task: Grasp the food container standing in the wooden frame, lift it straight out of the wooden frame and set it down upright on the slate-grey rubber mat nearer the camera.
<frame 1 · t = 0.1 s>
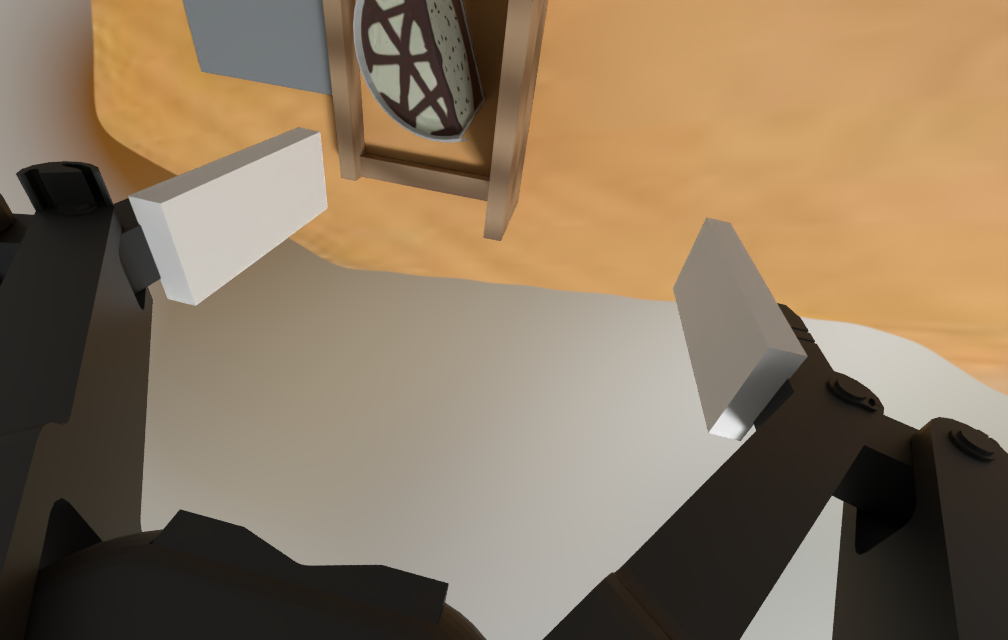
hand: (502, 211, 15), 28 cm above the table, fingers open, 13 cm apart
wooden frame: (437, 49, 37), on the table
food container: (438, 49, 37), resting in wooden frame
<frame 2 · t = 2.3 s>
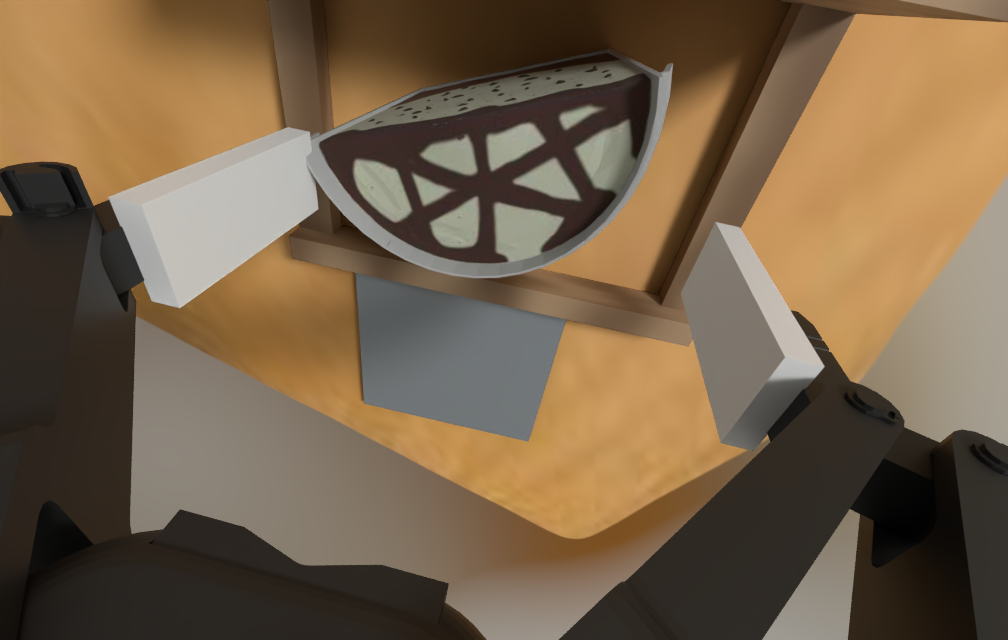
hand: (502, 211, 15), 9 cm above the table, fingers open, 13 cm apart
wooden frame: (518, 138, 22), on the table
mat: (454, 356, 32), on the table
food container: (522, 135, 22), resting in wooden frame, touching gripper
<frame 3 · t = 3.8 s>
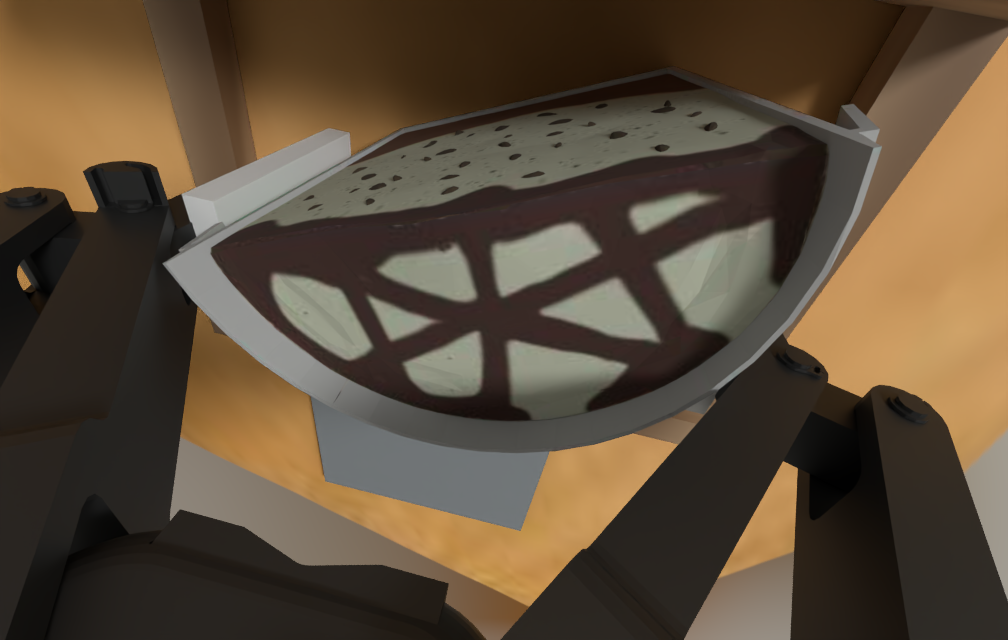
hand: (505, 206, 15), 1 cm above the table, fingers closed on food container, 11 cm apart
wooden frame: (501, 188, 16), on the table
mat: (429, 436, 26), on the table
food container: (542, 187, 16), resting in wooden frame, touching gripper
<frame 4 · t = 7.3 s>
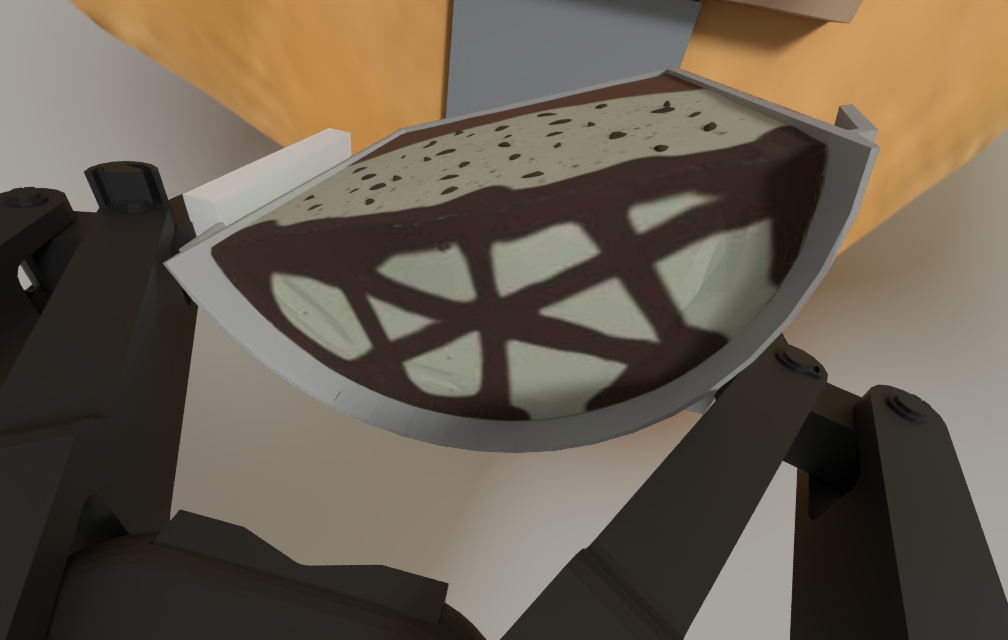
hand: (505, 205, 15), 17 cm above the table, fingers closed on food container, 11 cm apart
mat: (551, 110, 29), on the table
food container: (542, 187, 16), point 15 cm above the table, touching gripper
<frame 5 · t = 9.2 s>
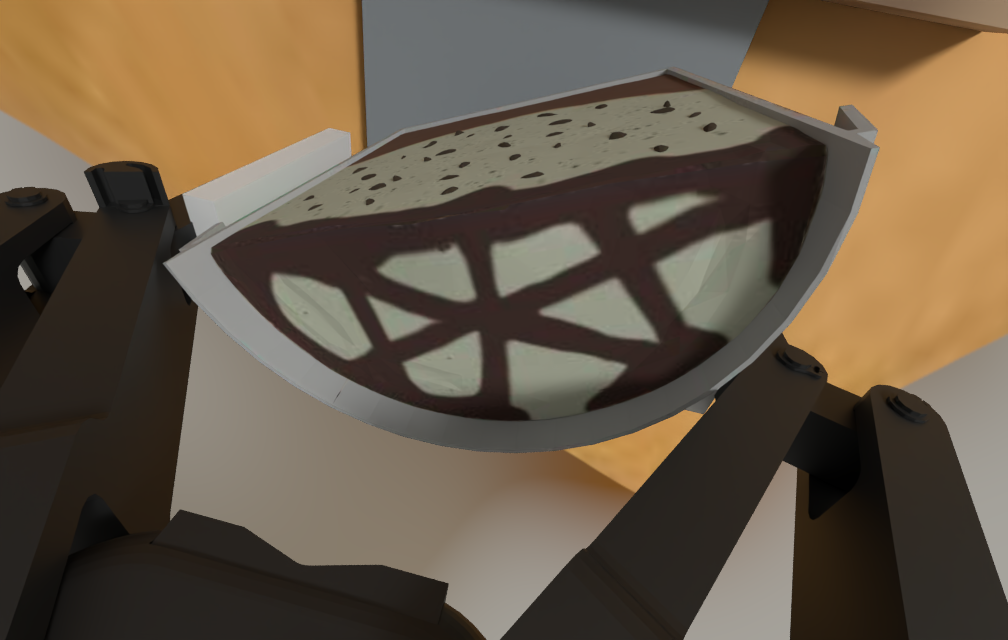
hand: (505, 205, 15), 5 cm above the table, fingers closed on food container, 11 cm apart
mat: (523, 163, 19), on the table
food container: (542, 187, 16), point 3 cm above the table, touching gripper
when the fingers open (3 cm above the table, at t = 10.8 s): food container stays where it is, resting on mat.
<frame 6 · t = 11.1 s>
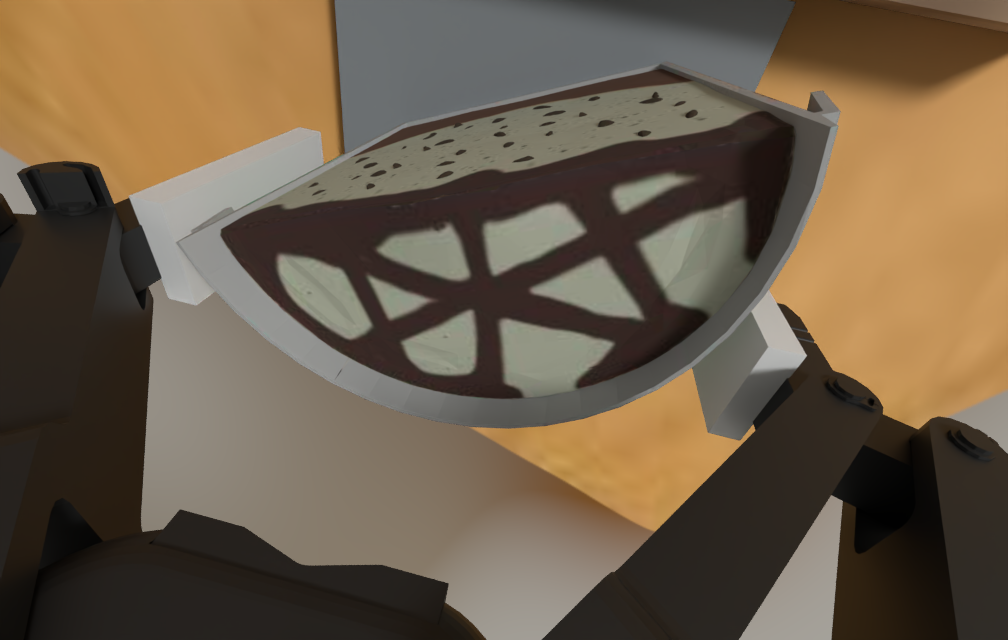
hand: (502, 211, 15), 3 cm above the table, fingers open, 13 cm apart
mat: (517, 181, 17), on the table
food container: (540, 180, 17), resting on mat
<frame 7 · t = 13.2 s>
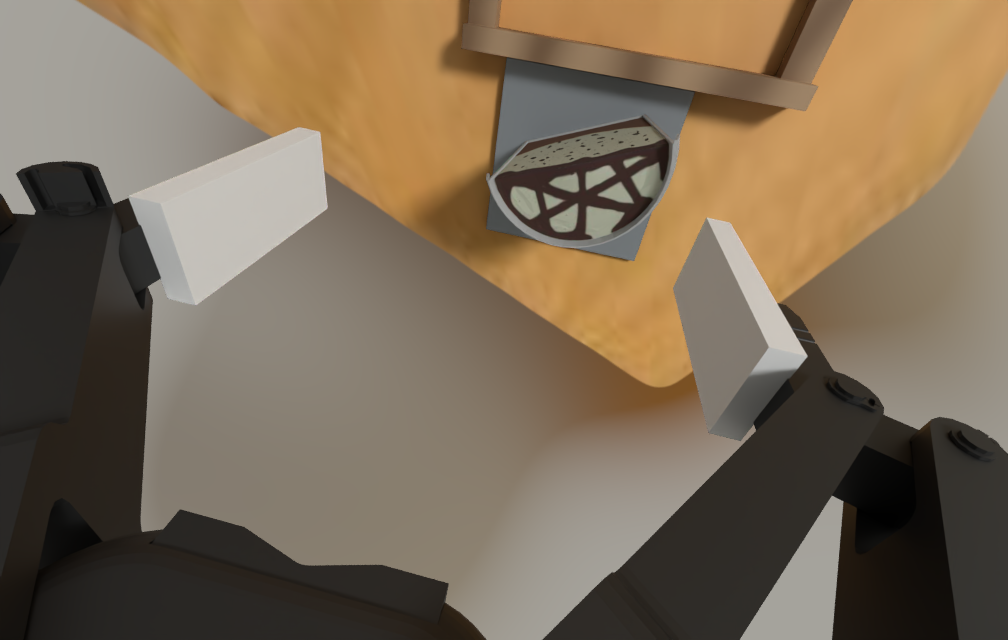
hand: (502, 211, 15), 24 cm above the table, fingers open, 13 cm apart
mat: (577, 167, 37), on the table
food container: (588, 166, 36), resting on mat
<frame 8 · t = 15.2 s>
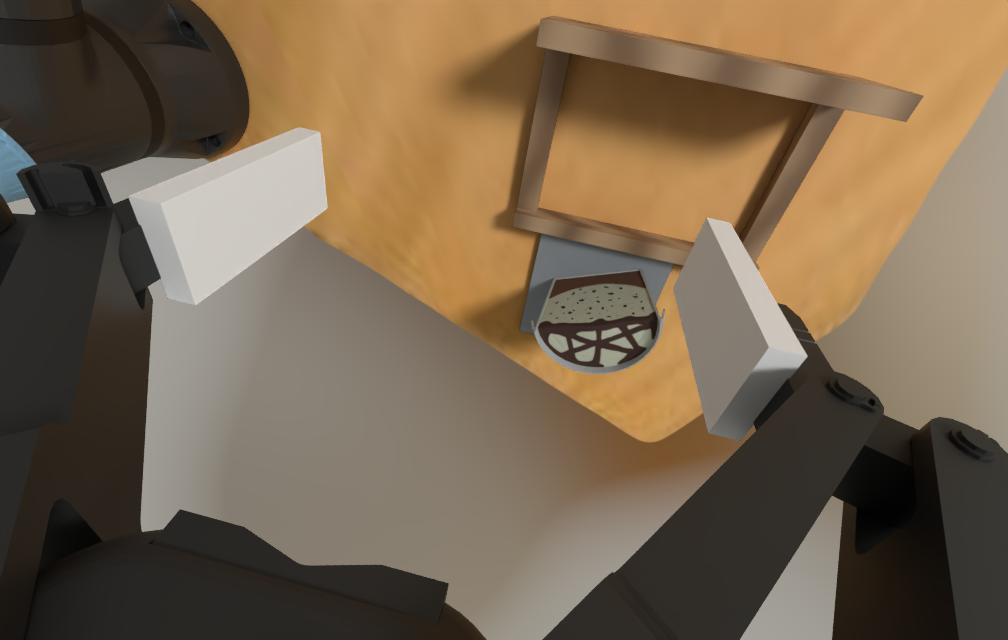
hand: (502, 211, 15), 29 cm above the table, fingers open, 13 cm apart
wooden frame: (660, 157, 40), on the table
mat: (590, 295, 49), on the table
food container: (599, 296, 49), resting on mat
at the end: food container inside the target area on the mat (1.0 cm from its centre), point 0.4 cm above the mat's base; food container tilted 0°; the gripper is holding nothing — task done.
